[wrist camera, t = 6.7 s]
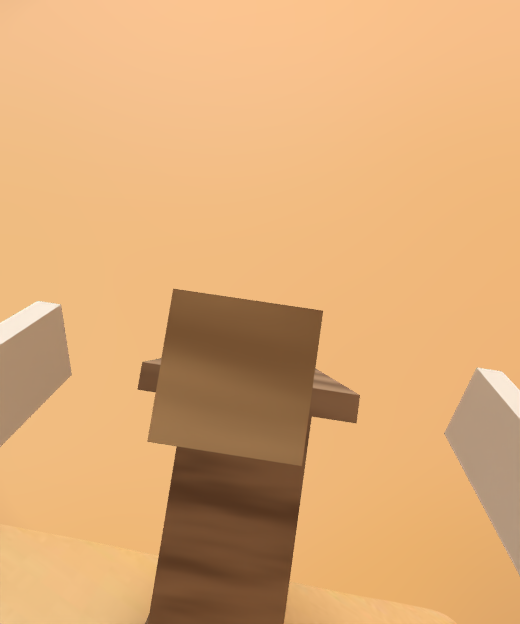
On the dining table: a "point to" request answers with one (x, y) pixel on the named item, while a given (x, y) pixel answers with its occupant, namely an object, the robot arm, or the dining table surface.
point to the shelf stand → (233, 525)
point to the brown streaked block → (236, 377)
